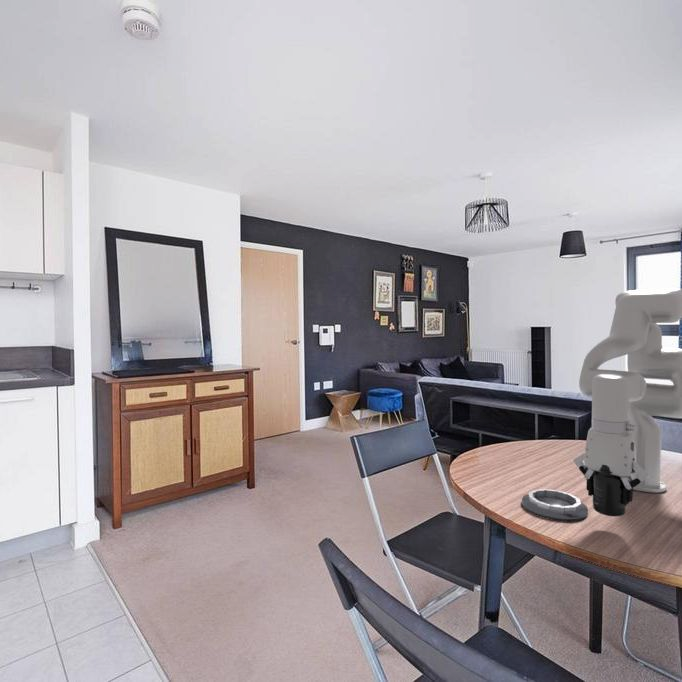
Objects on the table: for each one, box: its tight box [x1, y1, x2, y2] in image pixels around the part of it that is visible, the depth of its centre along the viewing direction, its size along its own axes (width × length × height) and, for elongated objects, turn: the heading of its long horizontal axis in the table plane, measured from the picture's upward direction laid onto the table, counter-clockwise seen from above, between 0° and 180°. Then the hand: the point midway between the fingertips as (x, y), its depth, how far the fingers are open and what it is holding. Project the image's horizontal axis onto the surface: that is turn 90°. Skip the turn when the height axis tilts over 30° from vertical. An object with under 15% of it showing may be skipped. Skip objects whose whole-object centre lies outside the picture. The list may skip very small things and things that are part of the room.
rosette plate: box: [521, 488, 589, 522], centre depth 119 cm, size 16×16×3 cm
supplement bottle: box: [592, 465, 627, 518], centre depth 106 cm, size 7×7×12 cm
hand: (608, 498), depth 106 cm, fingers closed on supplement bottle, 6 cm apart
